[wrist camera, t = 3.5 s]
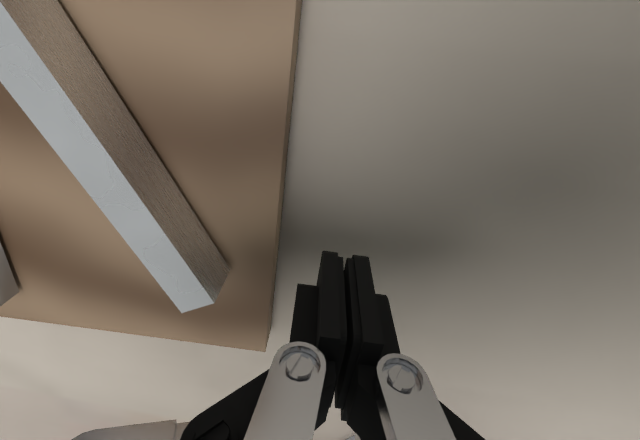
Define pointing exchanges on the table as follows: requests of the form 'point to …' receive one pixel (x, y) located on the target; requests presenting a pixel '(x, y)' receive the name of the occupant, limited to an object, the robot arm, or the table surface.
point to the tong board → (178, 159)
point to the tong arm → (105, 149)
